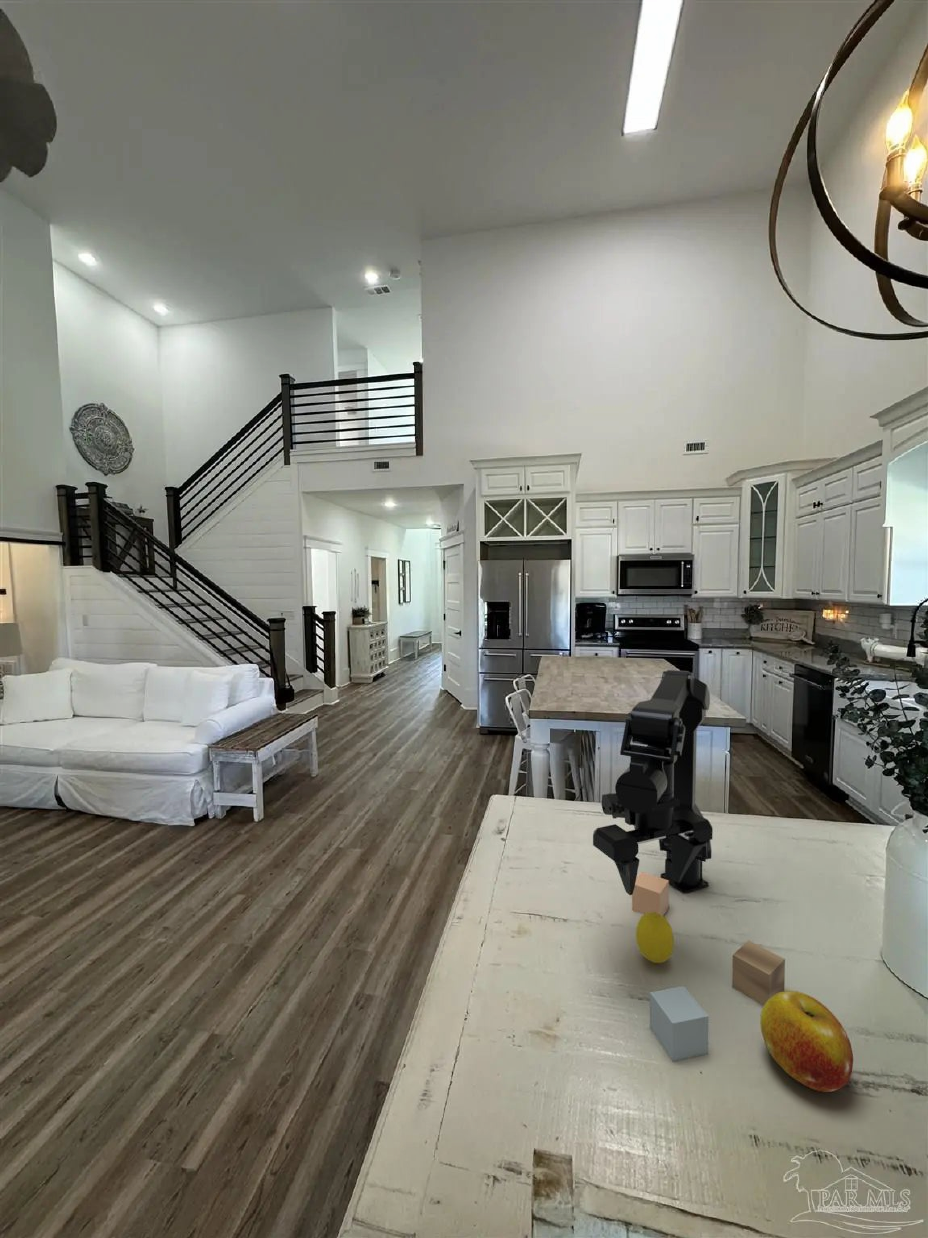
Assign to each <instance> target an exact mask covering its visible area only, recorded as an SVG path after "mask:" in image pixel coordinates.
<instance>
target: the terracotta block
mask: <svg viewBox="0 0 928 1238" xmlns="http://www.w3.org/2000/svg"><path fill="white" fill-rule="evenodd" d="M669 907H670V883H669V880H666V879H663V878H662V877H661V876H656V875H654V874H651V873H646V872H644V871H641V872H640V873H639V874H638V875H637V877H636V883H635V888H634V891H633V894H632V895H631V910H632V911H634V912H636V913H639V914H642V915H644V914H646V913H651V912H655V913H658V914H660V915H661V916H663V917H664V915H665V913H666V912H667V910H668V908H669Z"/></svg>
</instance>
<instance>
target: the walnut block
mask: <svg viewBox="0 0 928 1238" xmlns="http://www.w3.org/2000/svg"><path fill="white" fill-rule="evenodd" d="M731 966H732V967H731V968H732V970H731V971H732V973H731V975H732V977H731V978H732V979H731V980H732V981H731V982H732V983H731V984H732V985H731V987H732V988H734V989H735V990H737V991H738V992H740V993H742V994H743V995H745V996H747V997H748V998H750V999H752V1000H753V1001H755V1002H757V1003H758V1004H760V1005H761V1006H762V1007H763V1006H764V1005H765V1003H766V1002H767V1001H768V999H770V998H771V997H772V996H774V995H775V994H777V993H779V992H783V991H785V980H786V979H785V978H786V976H785V975H786V974H785V973H786V958H784V957H782V956H780V955H778V954H776V953H774V952H772V951H770V950H768V949H766V948H764V947H763V946H761V945H759V944H757V943H755V942H753V941H751V940H749V939H748V940H747V941H746V942H745V943H744V944H743V945H741V947H740V948H737V950H736V951H735V952H733V954H732V965H731Z"/></svg>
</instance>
